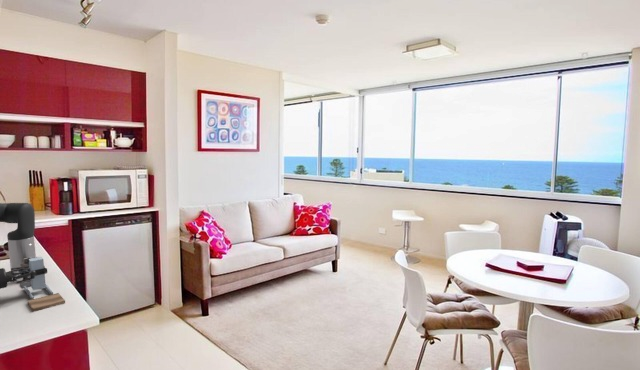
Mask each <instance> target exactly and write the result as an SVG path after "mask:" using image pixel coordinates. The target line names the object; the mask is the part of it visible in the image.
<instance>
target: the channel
mask: <svg viewBox="0 0 640 370" xmlns="http://www.w3.org/2000/svg"><path fill="white" fill-rule="evenodd" d="M28 288H29V287H26V286H24V288H23V289H24V291H25V292H26V294H27V296H28V295H29V296H28V297H29V299H30V300H32V299H35V298H34V295H33V294H32V293H31V291H30V289H28ZM44 289H45V290H46V291H47V292H48V293H49V295H52V294H54V291H53V290H52V289H51V288H50V287H49V286H48V284H46V288H44Z"/></svg>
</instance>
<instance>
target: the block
mask: <svg viewBox="0 0 640 370" xmlns="http://www.w3.org/2000/svg"><path fill="white" fill-rule="evenodd" d="M36 257H37V258H32V259H29V268H30V271H32V270H38V269H43V268H44V266H45V262H44V258H43V257H42V256H36ZM30 281H31V289H32V290H33V291H37V290H41V289H45V288H46V285H47V283H46V276H45V274H42V275H37V276H36V277H35V278H34V279H31V280H30Z"/></svg>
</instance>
